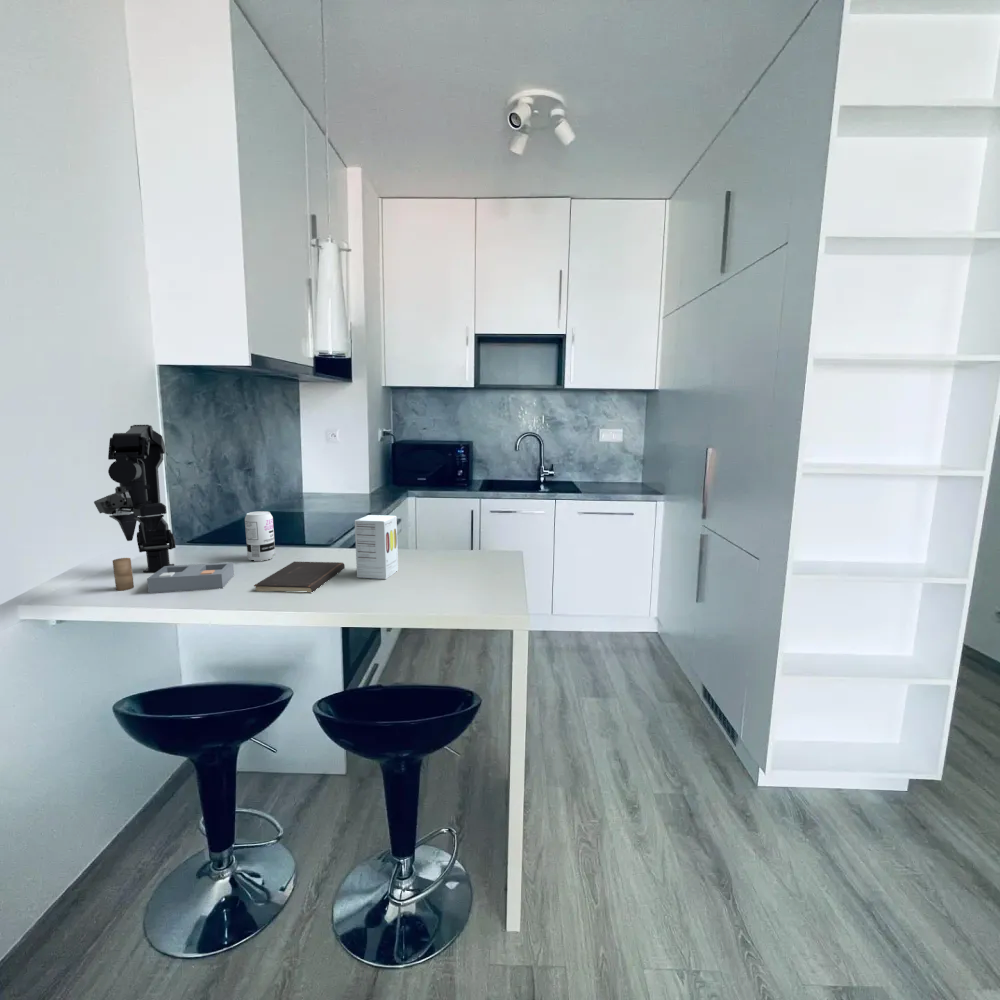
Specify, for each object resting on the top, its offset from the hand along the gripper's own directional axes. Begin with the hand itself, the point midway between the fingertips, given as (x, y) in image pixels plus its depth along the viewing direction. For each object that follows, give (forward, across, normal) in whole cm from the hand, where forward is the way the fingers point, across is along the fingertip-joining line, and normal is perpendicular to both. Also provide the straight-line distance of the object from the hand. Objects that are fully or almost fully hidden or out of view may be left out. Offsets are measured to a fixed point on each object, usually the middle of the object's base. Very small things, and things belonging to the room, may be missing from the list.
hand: (138, 541), depth 142 cm
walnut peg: (+13, -10, 0) cm, 16 cm away
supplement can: (+12, -4, +38) cm, 40 cm away
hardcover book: (+15, +25, +30) cm, 42 cm away
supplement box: (+15, +41, +44) cm, 62 cm away
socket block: (+14, +3, +12) cm, 18 cm away
